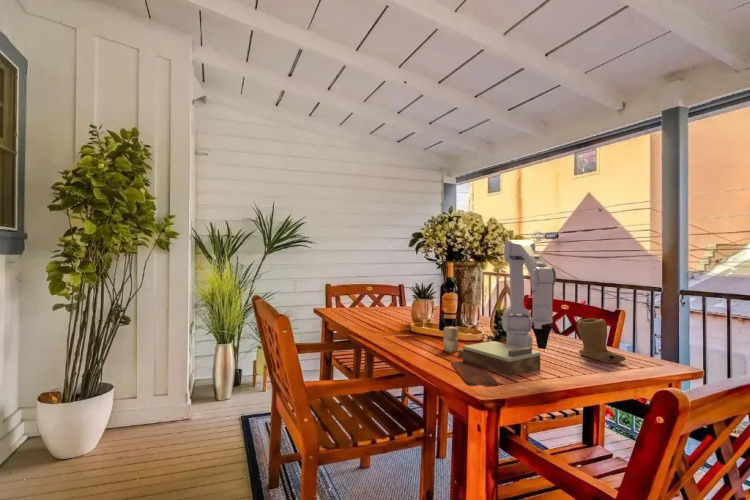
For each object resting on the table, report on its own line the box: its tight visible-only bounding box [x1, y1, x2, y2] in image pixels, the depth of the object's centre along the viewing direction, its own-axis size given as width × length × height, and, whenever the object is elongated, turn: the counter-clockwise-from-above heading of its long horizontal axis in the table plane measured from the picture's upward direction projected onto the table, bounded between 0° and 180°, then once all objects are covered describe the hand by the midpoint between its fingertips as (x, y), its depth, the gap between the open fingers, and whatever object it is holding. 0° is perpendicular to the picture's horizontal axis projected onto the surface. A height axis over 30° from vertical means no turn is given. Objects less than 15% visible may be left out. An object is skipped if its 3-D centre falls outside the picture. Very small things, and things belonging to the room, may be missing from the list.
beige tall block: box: [443, 325, 459, 353], centre depth 162 cm, size 4×4×9 cm
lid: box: [462, 340, 541, 362], centre depth 141 cm, size 16×20×3 cm
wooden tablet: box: [450, 360, 500, 387], centre depth 133 cm, size 27×10×2 cm, turn 2°
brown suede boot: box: [576, 318, 627, 364], centre depth 151 cm, size 15×12×15 cm
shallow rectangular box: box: [457, 348, 541, 377], centre depth 144 cm, size 16×27×4 cm, turn 33°
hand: (541, 348), depth 128 cm, fingers closed
